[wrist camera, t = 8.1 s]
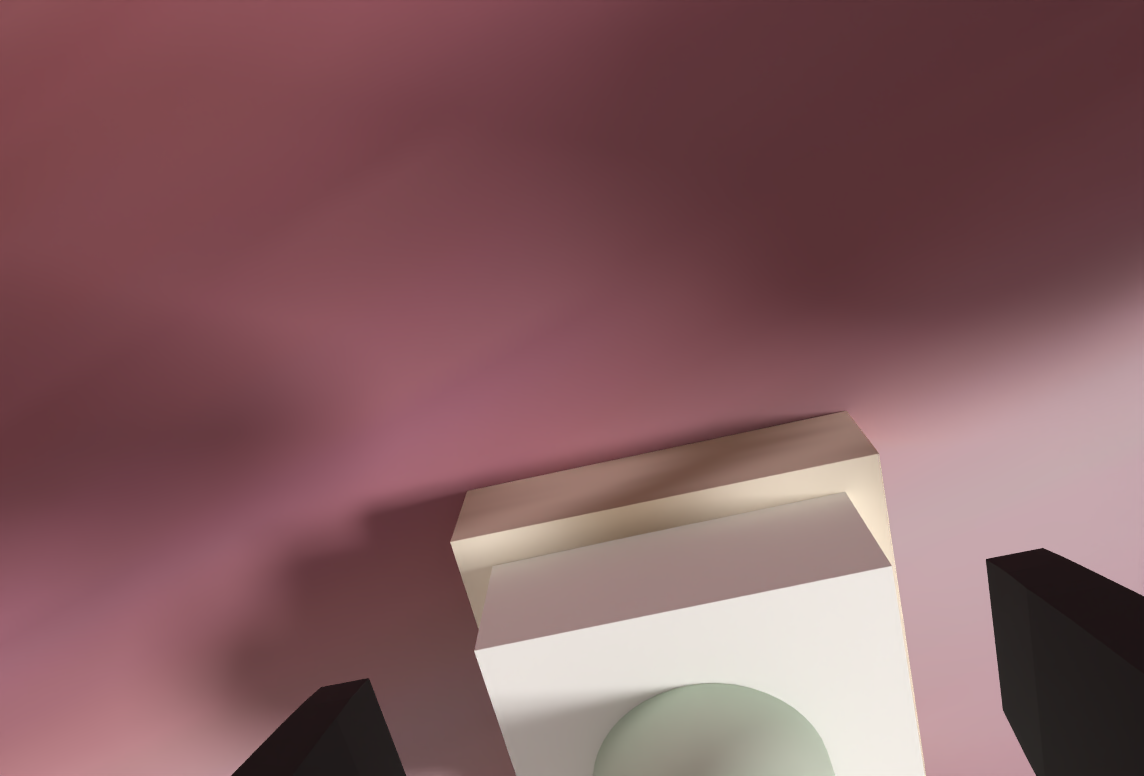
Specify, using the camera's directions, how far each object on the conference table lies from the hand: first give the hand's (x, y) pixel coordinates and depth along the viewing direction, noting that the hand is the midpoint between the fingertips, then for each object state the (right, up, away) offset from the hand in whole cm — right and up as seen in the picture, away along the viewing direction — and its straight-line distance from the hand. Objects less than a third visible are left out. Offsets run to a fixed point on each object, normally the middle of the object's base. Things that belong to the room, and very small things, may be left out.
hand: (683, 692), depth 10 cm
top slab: (+2, -3, +9) cm, 10 cm away
